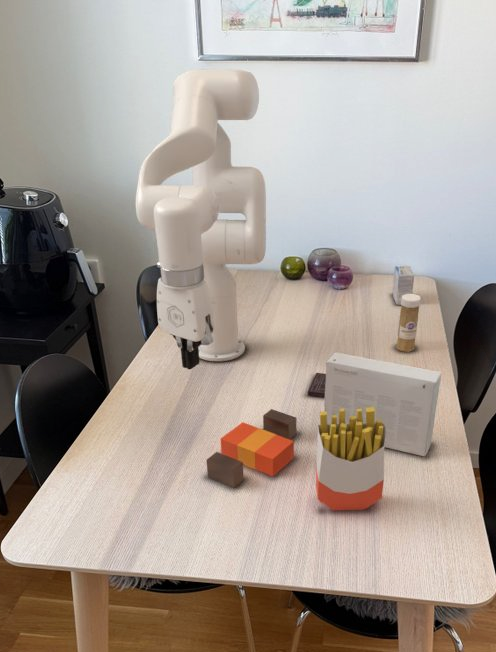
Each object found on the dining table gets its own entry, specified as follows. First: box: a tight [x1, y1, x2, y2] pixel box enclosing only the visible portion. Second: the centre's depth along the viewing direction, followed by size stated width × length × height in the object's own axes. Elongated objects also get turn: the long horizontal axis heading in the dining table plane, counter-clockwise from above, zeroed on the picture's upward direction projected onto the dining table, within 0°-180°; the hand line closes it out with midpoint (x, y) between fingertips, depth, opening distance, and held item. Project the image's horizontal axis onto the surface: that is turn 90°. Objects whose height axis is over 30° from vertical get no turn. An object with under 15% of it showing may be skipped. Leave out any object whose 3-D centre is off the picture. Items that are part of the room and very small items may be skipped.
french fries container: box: [315, 407, 386, 511], centre depth 111 cm, size 5×11×18 cm, turn 91°
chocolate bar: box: [307, 372, 326, 399], centre depth 148 cm, size 9×1×18 cm
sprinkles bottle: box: [396, 293, 422, 353], centre depth 161 cm, size 5×5×13 cm
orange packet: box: [220, 421, 295, 477], centre depth 126 cm, size 12×7×4 cm, turn 55°
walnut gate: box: [206, 408, 298, 489], centre depth 127 cm, size 6×21×4 cm, turn 146°
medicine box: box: [392, 265, 415, 306], centre depth 188 cm, size 8×4×9 cm, turn 179°
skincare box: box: [323, 351, 442, 457], centre depth 128 cm, size 21×6×16 cm, turn 65°
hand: (191, 365), depth 127 cm, fingers closed
